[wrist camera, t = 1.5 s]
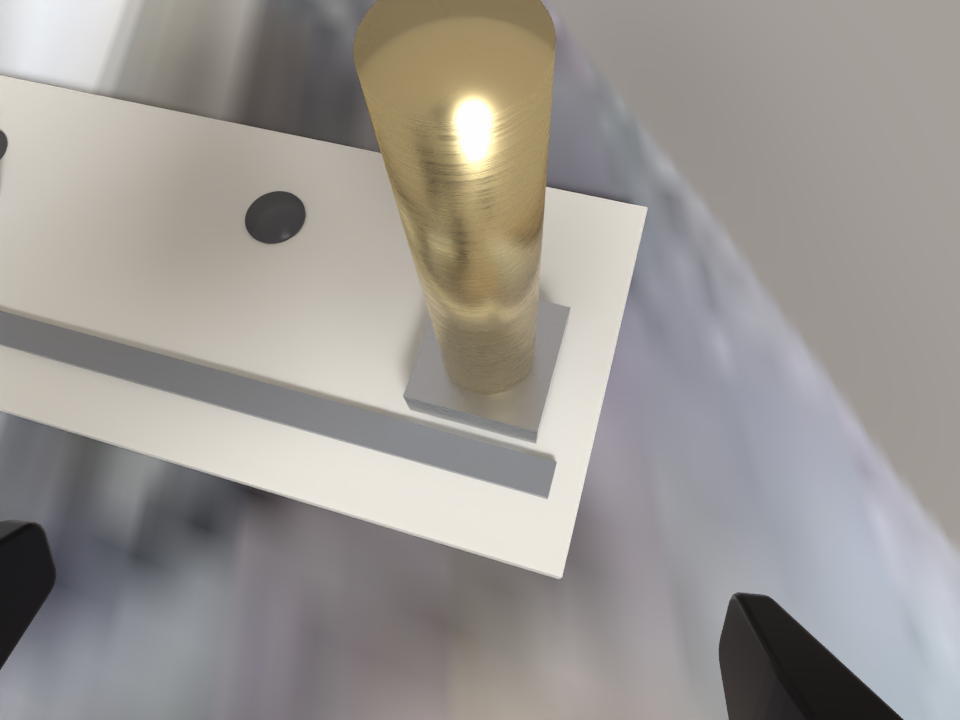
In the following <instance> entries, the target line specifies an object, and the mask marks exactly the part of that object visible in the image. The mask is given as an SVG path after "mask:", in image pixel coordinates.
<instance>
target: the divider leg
mask: <svg viewBox="0 0 960 720" xmlns="http://www.w3.org/2000/svg"><path fill="white" fill-rule="evenodd" d="M555 42H556V36H555V28H554V25H553V21H552V18H551V16H550V14H549V12H548V10H547V9H546V8H545V6H544V5H543V3H542V2H541V1H540V0H378V1H377V2H376V3H375V4H374V5H373V6H372V7H371V8H370V10H369V11H368V12H367V14H366V15H365V16H364V18H363V20H362V21H361V23H360V25H359V27H358V30H357V33H356V36H355V40H354V48H353V56H354V63H355V67H356V70H357V74H358V77H359V80H360V84H361V87H362V90H363V94H364V97H365V100H366V104H367V107H368V111H369V114H370V117H371V121H372V124H373V127H374V131H375V134H376V137H377V141H378V144H379V147H380V151H381V154H382V157H383V161H384V164H385V168H386V171H387V174H388V178H389V181H390V184H391V188H392V191H393V194H394V198H395V201H396V204H397V208H398V211H399V214H400V218H401V221H402V225H403V228H404V231H405V235H406V238H407V241H408V245H409V248H410V251H411V255H412V258H413V261H414V265H415V268H416V272H417V275H418V278H419V282H420V285H421V288H422V292H423V295H424V298H425V302H426V305H427V308H428V312H429V315H430V320H429V323H428V326H427V329H426V332H425V334H424V337H423V340H422V343H421V346H420V349H419V352H418V354H417V357H416V360H415V363H414V366H413V369H412V372H411V374H410V377H409V380H408V383H407V386H406V389H405V392H404V394H403V397H404V399H405V401H406V403H407V405H408V407H409V409H410V410H412V411H416V412H419V413H423V414H427V415H431V416H434V417H438V418H442V419H445V420H449V421H453V422H457V423H460V424H464V425H468V426H471V427H475V428H479V429H483V430H486V431H490V432H494V433H498V434H501V435H505V436H509V437H512V438H516V439H520V440H524V441H527V442H531V443H535V444H536V443H537V439H538V435H539V431H540V428H541V424H542V420H543V416H544V412H545V409H546V405H547V401H548V397H549V394H550V390H551V386H552V382H553V378H554V375H555V371H556V367H557V363H558V360H559V356H560V352H561V348H562V344H563V341H564V337H565V333H566V329H567V325H568V320H569V314H570V308H571V307H567V306H563V305H559V304H554V303H550V302H546V301H541V300H538V297H539V282H540V267H541V252H542V237H543V222H544V207H545V192H546V177H547V163H548V148H549V133H550V118H551V103H552V88H553V73H554V58H555Z"/></svg>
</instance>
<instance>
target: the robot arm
mask: <svg viewBox="0 0 960 720" xmlns="http://www.w3.org/2000/svg"><path fill="white" fill-rule="evenodd" d="M55 580H56V567H55V564H54V560H53V557H52V553H51V550H50V546H49V543H48V539H47V535H46V532H45V530H44V528H43V527H42V526H41V525H40V524H38V523H36V522H29V521H19V520H6V521H2V522H0V669H1V668H2V666H3V665H4V663H5V662H6V660H7V659H8V657H9V656H10V654H11V652H12V651H13V649H14V648H15V646H16V645H17V643H18V642H19V640H20V638H21V637H22V635H23V634H24V632H25V631H26V629H27V628H28V626H29V625H30V623H31V621H32V620H33V618H34V617H35V615H36V614H37V612H38V611H39V609H40V608H41V606H42V604H43V603H44V601H45V600H46V598H47V597H48V595H49V594H50V592H51V590H52V588H53V586H54V583H55ZM719 662H720V669H721V675H722V681H723V687H724V693H725V699H726V705H727V711H728V717H729V720H903V719H902V718H901V717H900V716H899V715H898V714H897V713H896V712H895V711H894V710H893V709H892V708H890V707H889V706H888V705H887V704H886V703H885V702H884V701H883V700H882V699H881V698H880V697H879V696H877V695H876V694H875V693H874V692H873V691H872V690H871V689H870V688H869V687H868V686H867V685H866V684H864V683H863V682H862V681H861V680H860V679H859V678H858V677H857V676H856V675H855V674H854V673H852V672H851V671H850V670H849V669H848V668H847V667H846V666H845V665H844V664H843V663H842V662H841V661H839V660H838V659H837V658H836V657H835V656H834V655H833V654H832V653H831V652H830V651H829V650H828V649H826V648H825V647H824V646H823V645H822V644H821V643H820V642H819V641H818V640H817V639H816V638H815V637H813V636H812V635H811V634H810V633H809V632H808V631H807V630H806V629H805V628H804V627H803V626H801V625H800V624H799V623H798V622H797V621H796V620H795V619H794V618H793V617H792V616H791V615H790V614H788V613H787V612H786V611H785V610H784V609H783V608H782V607H781V606H780V605H779V604H778V603H777V602H775V601H774V600H773V599H772V598H770V597H769V596H766V595H761V594H750V593H740V592H739V593H735V594H734V595H733V596H732V597H731V599H730V601H729V605H728V609H727V613H726V617H725V621H724V625H723V630H722V634H721V638H720V643H719Z"/></svg>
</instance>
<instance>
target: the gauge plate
mask: <svg viewBox="0 0 960 720" xmlns="http://www.w3.org/2000/svg"><path fill="white" fill-rule="evenodd" d="M647 209H648V207H643V206H638V205H633V204H628V203H623V202H618V201H613V200H608V199H604V198H599V197H594V196H589V195H584V194H579V193H574V192H569V191H564V190H560V189H555V188H550V187H546V192H545V207H544V222H543V237H542V252H541V267H540V282H539V297H538V300H541V301H546V302H550V303H554V304H559V305H563V306H567V307H571V308H570V314H569V320H568V325H567V329H566V333H565V337H564V341H563V344H562V348H561V352H560V356H559V360H558V363H557V367H556V371H555V375H554V378H553V382H552V386H551V390H550V394H549V397H548V401H547V405H546V409H545V412H544V416H543V420H542V424H541V428H540V431H539V435H538V439H537V443H536V444H535V443H531V442H527V441H524V440H520V439H516V438H512V437H509V436H505V435H501V434H498V433H494V432H490V431H486V430H483V429H479V428H475V427H471V426H468V425H464V424H460V423H457V422H453V421H449V420H445V419H442V418H438V417H434V416H431V415H427V414H423V413H419V412H416V411H412V410H410V409H409V407H408V405H407V403H406V401H405V399H404V397H403V394H404V392H405V389H406V386H407V383H408V380H409V377H410V374H411V372H412V369H413V366H414V363H415V360H416V357H417V354H418V352H419V349H420V346H421V343H422V340H423V337H424V334H425V332H426V329H427V326H428V323H429V320H430V315H429V312H428V308H427V305H426V302H425V298H424V295H423V292H422V288H421V285H420V282H419V278H418V275H417V272H416V268H415V265H414V261H413V258H412V255H411V251H410V248H409V245H408V241H407V238H406V235H405V231H404V228H403V225H402V221H401V218H400V214H399V211H398V208H397V204H396V201H395V198H394V194H393V191H392V188H391V184H390V181H389V178H388V174H387V171H386V168H385V164H384V161H383V157H382V154H381V153H378V152H374V151H369V150H364V149H359V148H354V147H349V146H344V145H339V144H334V143H330V142H325V141H320V140H315V139H310V138H305V137H300V136H295V135H290V134H286V133H281V132H276V131H271V130H266V129H261V128H256V127H251V126H246V125H241V124H237V123H232V122H227V121H222V120H217V119H212V118H207V117H202V116H197V115H193V114H188V113H183V112H178V111H173V110H168V109H163V108H158V107H153V106H149V105H144V104H139V103H134V102H129V101H124V100H119V99H114V98H109V97H104V96H100V95H95V94H90V93H85V92H80V91H75V90H70V89H65V88H60V87H56V86H51V85H46V84H41V83H36V82H31V81H26V80H21V79H16V78H11V77H7V76H2V75H0V411H1V412H5V413H8V414H11V415H15V416H18V417H21V418H25V419H28V420H31V421H35V422H38V423H41V424H45V425H48V426H51V427H54V428H58V429H61V430H64V431H68V432H71V433H74V434H78V435H81V436H84V437H88V438H91V439H94V440H98V441H101V442H104V443H108V444H111V445H114V446H118V447H121V448H124V449H128V450H131V451H134V452H138V453H141V454H144V455H148V456H151V457H154V458H158V459H161V460H164V461H168V462H171V463H174V464H178V465H181V466H184V467H188V468H191V469H194V470H198V471H201V472H204V473H207V474H211V475H214V476H217V477H221V478H224V479H227V480H231V481H234V482H237V483H241V484H244V485H247V486H251V487H254V488H257V489H261V490H264V491H267V492H271V493H274V494H277V495H281V496H284V497H287V498H291V499H294V500H297V501H301V502H304V503H307V504H311V505H314V506H317V507H321V508H324V509H327V510H331V511H334V512H337V513H341V514H344V515H347V516H350V517H354V518H357V519H360V520H364V521H367V522H370V523H374V524H377V525H380V526H384V527H387V528H390V529H394V530H397V531H400V532H404V533H407V534H410V535H414V536H417V537H420V538H424V539H427V540H430V541H434V542H437V543H440V544H444V545H447V546H450V547H454V548H457V549H460V550H464V551H467V552H470V553H474V554H477V555H480V556H484V557H487V558H490V559H494V560H497V561H500V562H503V563H507V564H510V565H513V566H517V567H520V568H523V569H527V570H530V571H533V572H537V573H540V574H543V575H547V576H550V577H553V578H557V579H561V578H562V575H563V571H564V566H565V562H566V558H567V553H568V549H569V545H570V540H571V536H572V532H573V528H574V523H575V519H576V515H577V510H578V506H579V502H580V497H581V493H582V489H583V484H584V480H585V476H586V472H587V467H588V463H589V459H590V454H591V450H592V446H593V441H594V437H595V433H596V429H597V424H598V420H599V416H600V411H601V407H602V403H603V398H604V394H605V390H606V385H607V381H608V377H609V373H610V368H611V364H612V360H613V355H614V351H615V347H616V342H617V338H618V334H619V330H620V325H621V321H622V317H623V312H624V308H625V304H626V299H627V295H628V291H629V286H630V282H631V278H632V274H633V269H634V265H635V261H636V256H637V252H638V248H639V243H640V239H641V235H642V230H643V226H644V222H645V218H646V213H647Z"/></svg>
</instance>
